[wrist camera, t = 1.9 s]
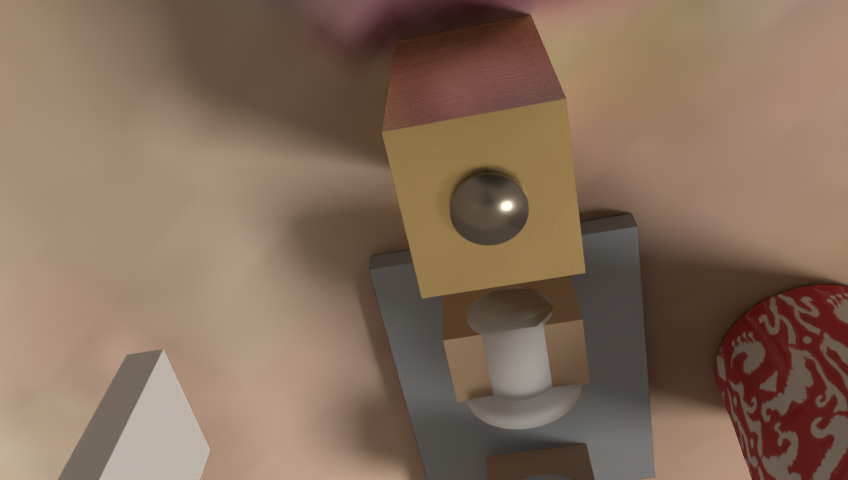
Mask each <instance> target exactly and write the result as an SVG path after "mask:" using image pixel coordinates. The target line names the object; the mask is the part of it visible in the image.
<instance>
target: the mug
mask: <svg viewBox="0 0 848 480" xmlns="http://www.w3.org/2000/svg"><path fill="white" fill-rule="evenodd" d="M715 373H716V380H717V384H718V387H719V390H720V393H721V396H722V398H723V401H724V403H725V406H726V409H727V411H728V414H729V416H730V419H731V421H732V424H733V427H734V429H735V432H736V435H737V438H738V441H739V443H740V446H741V449H742V453H743V456H744V458H745V460H746V463H747V465H748V468H749V471H750V475H751V478H752V480H848V287H844V286H839V285H813V286H805V287H800V288H795V289H792V290H789V291H786V292H783V293H780V294H778V295H775V296H773V297H771V298H769V299H767V300H765V301H763V302H761V303H760V304H758V305H756V306H755V307H753V308H752V309H751V310H749V311H748V312H747V313H746V314H745V315H744V316H742V317H741V318H740V319H739V320H738V321H737V322H736V323H735V324H734V326H733V327H732V328H731V329H730V331H729V332H728V333H727V335H726V336H725V338H724V340H723V342H722V344H721V346H720V349H719V351H718V354H717V358H716V369H715Z"/></svg>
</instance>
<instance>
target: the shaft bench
mask: <svg viewBox="0 0 848 480" xmlns="http://www.w3.org/2000/svg"><path fill="white" fill-rule="evenodd" d="M580 227H581V236H582V245H583V254H584V263H585V272H586V273H582V274H576V275H570V276H563V277H557V278H550V279H544V280H538V281H531V282H525V283H518V284H512V285H506V286H499V287H493V288H486V289H480V290H474V291H467V292H461V293H454V294H448V295H442V296H435V297H429V298H423V299H422V297H421V293H420V289H419V285H418V280H417V276H416V272H415V268H414V264H413V260H412V256H411V252H410V250H406V251H400V252H393V253H387V254H381V255H375V256H371V260H370V267H369V271H370V275H371V279H372V282H373V286H374V290H375V293H376V297H377V300H378V304H379V308H380V311H381V315H382V318H383V322H384V326H385V329H386V333H387V336H388V340H389V344H390V347H391V351H392V355H393V358H394V362H395V365H396V369H397V373H398V376H399V380H400V383H401V387H402V391H403V394H404V398H405V402H406V405H407V409H408V412H409V416H410V420H411V423H412V427H413V430H414V434H415V438H416V441H417V445H418V448H419V452H420V456H421V459H422V463H423V467H424V470H425V474H426V477H427V480H638V479H646V478H654V477H655V470H654V455H653V441H652V427H651V412H650V398H649V384H648V369H647V355H646V341H645V326H644V312H643V298H642V283H641V269H640V255H639V240H638V226H637V224H636V222H635V220H634V218H633V216H632V213H631V214H625V215H619V216H613V217H607V218H601V219H595V220H588V221H582V222H580Z"/></svg>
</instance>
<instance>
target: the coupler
mask: <svg viewBox="0 0 848 480" xmlns="http://www.w3.org/2000/svg"><path fill="white" fill-rule="evenodd" d="M382 136H383V140H384V144H385V148H386V152H387V156H388V161H389V165H390V169H391V173H392V177H393V181H394V185H395V190H396V194H397V198H398V202H399V206H400V210H401V214H402V218H403V223H404V227H405V231H406V235H407V239H408V243H409V247H410V252H411V256H412V260H413V264H414V268H415V272H416V276H417V280H418V285H419V289H420V293H421V297H422V299H423V298H429V297H435V296H442V295H448V294H454V293H461V292H467V291H474V290H480V289H486V288H493V287H499V286H506V285H512V284H518V283H525V282H531V281H538V280H544V279H550V278H557V277H563V276H570V275H576V274H582V273H586V272H585V263H584V254H583V245H582V236H581V227H580V218H579V209H578V200H577V191H576V182H575V173H574V164H573V156H572V147H571V138H570V129H569V120H568V111H567V102H566V97H565V95H564V92H563V90H562V88H561V85H560V83H559V81H558V78H557V76H556V73H555V71H554V69H553V66H552V64H551V62H550V59H549V57H548V54H547V52H546V50H545V47H544V45H543V43H542V40H541V38H540V36H539V33H538V31H537V28H536V26H535V24H534V21H533V19H532V17H531V15H527V16H522V17H517V18H512V19H507V20H501V21H496V22H491V23H486V24H481V25H476V26H471V27H465V28H460V29H455V30H450V31H445V32H440V33H435V34H430V35H424V36H419V37H414V38H409V39H404V40H399V41H396V47H395V53H394V59H393V65H392V72H391V78H390V84H389V90H388V96H387V102H386V108H385V115H384V121H383V127H382Z"/></svg>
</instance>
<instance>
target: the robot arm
mask: <svg viewBox="0 0 848 480" xmlns="http://www.w3.org/2000/svg"><path fill="white" fill-rule="evenodd" d="M209 452H210V449H209V447H208V445H207V442H206V440H205V438H204V436H203V434H202V432H201V429H200V427H199V425H198V423H197V421H196V419H195V416H194V414H193V412H192V410H191V408H190V406H189V404H188V401H187V399H186V397H185V395H184V393H183V391H182V388H181V386H180V384H179V382H178V380H177V378H176V375H175V373H174V371H173V369H172V367H171V365H170V362H169V360H168V358H167V356H166V354H165V352H164V349H161V350H155V351H149V352H142V353H136V354H130V355H126V357H125V359H124V361H123V363H122V364H121V366H120V368H119V370H118V372H117V373H116V375H115V377H114V379H113V381H112V383H111V384H110V386H109V388H108V390H107V392H106V393H105V395H104V397H103V399H102V401H101V402H100V404H99V406H98V408H97V410H96V411H95V413H94V415H93V417H92V419H91V421H90V422H89V424H88V426H87V428H86V430H85V431H84V433H83V435H82V437H81V439H80V440H79V442H78V444H77V446H76V448H75V449H74V451H73V453H72V455H71V457H70V459H69V460H68V462H67V464H66V466H65V468H64V469H63V471H62V473H61V475H60V477H59V478H58V480H200V478H201V475H202V472H203V469H204V467H205V464H206V461H207V458H208V455H209Z"/></svg>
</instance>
